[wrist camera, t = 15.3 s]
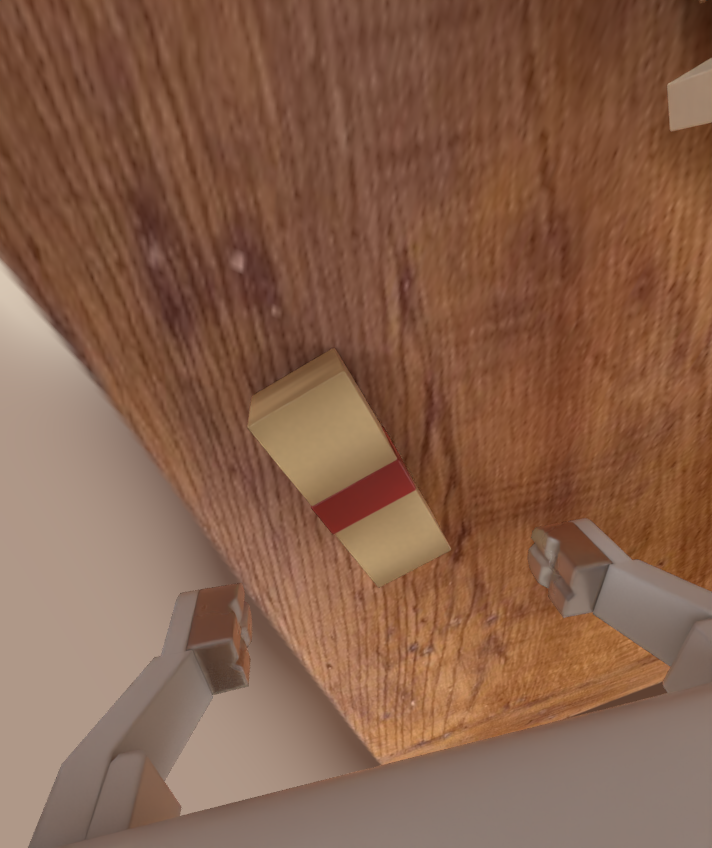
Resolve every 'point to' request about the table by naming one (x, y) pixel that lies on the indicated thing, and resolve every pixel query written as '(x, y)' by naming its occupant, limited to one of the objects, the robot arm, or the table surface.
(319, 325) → the table surface
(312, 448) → the block
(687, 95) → the drawer
